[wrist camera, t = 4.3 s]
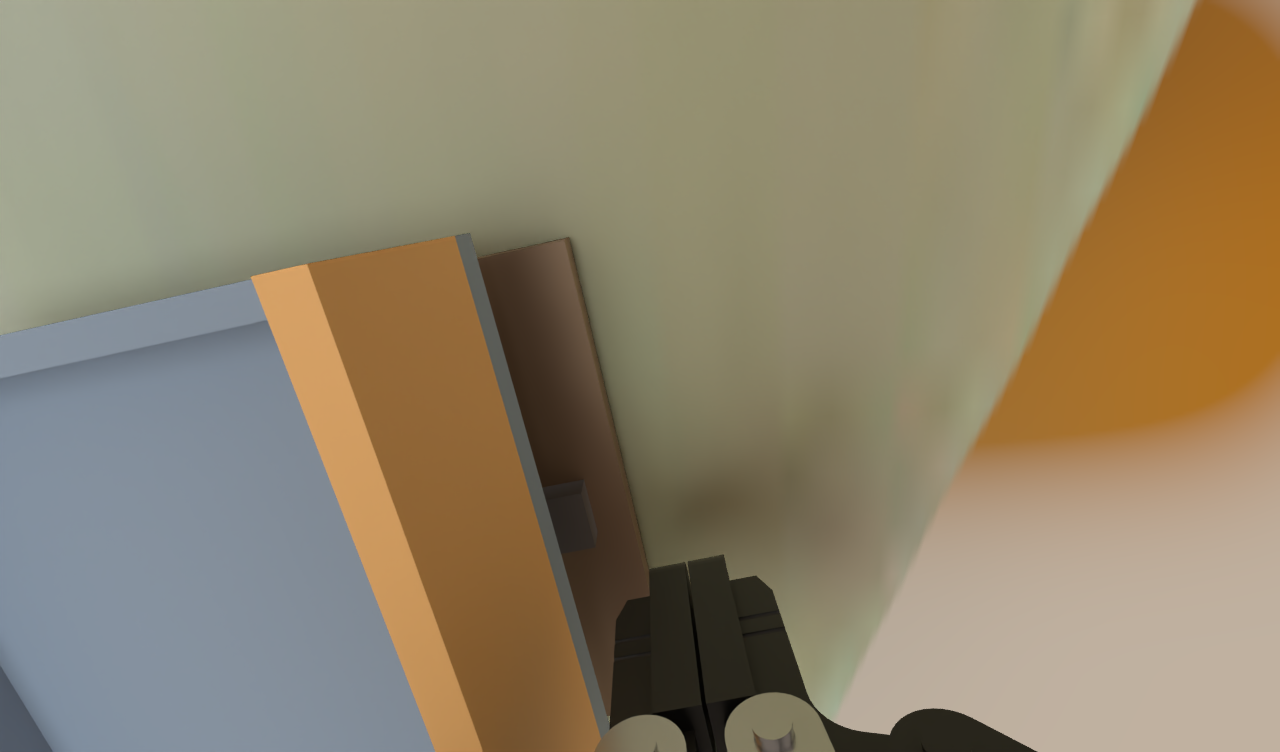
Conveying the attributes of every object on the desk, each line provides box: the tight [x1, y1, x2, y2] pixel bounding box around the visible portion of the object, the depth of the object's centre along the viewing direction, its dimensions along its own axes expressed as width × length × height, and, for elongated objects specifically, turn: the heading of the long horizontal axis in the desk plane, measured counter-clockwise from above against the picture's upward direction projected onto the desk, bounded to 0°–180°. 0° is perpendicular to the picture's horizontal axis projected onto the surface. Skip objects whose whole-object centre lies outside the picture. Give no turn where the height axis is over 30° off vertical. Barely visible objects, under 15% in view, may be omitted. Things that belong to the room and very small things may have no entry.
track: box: [477, 237, 650, 716], centre depth 16 cm, size 28×14×4 cm, turn 102°
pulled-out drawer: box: [0, 233, 610, 752], centre depth 13 cm, size 13×15×8 cm
